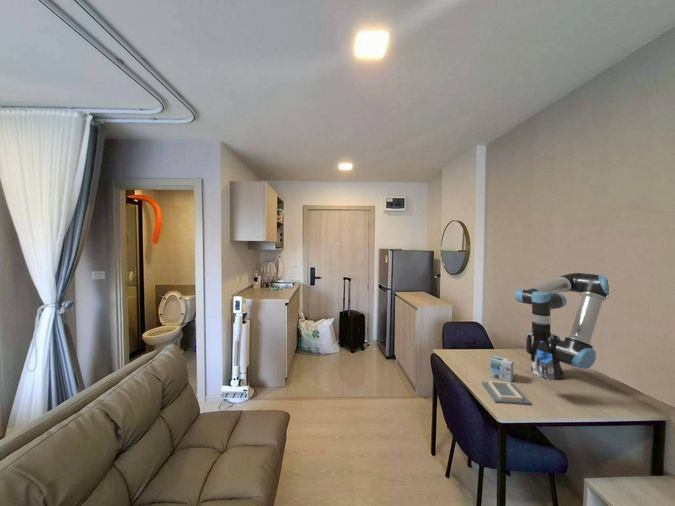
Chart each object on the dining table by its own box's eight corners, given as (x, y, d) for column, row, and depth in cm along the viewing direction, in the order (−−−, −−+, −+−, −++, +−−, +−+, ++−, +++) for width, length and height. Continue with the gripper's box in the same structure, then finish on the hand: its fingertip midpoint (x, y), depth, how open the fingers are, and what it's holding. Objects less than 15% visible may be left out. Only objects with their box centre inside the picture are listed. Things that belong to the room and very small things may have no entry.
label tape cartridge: (532, 374, 140) (529, 350, 141) (539, 373, 141) (536, 349, 142) (548, 380, 131) (545, 354, 132) (555, 379, 132) (552, 354, 133)
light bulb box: (490, 376, 158) (490, 358, 158) (493, 372, 163) (492, 355, 163) (511, 382, 151) (511, 363, 150) (513, 378, 156) (513, 359, 155)
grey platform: (513, 385, 148) (513, 381, 148) (531, 405, 130) (531, 400, 130) (481, 383, 150) (481, 379, 150) (495, 402, 132) (495, 397, 132)
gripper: (556, 320, 138) (556, 365, 139) (517, 320, 141) (517, 363, 142) (566, 325, 131) (566, 372, 132) (525, 324, 134) (525, 370, 135)
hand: (541, 367), depth 137 cm, fingers open, 5 cm apart
